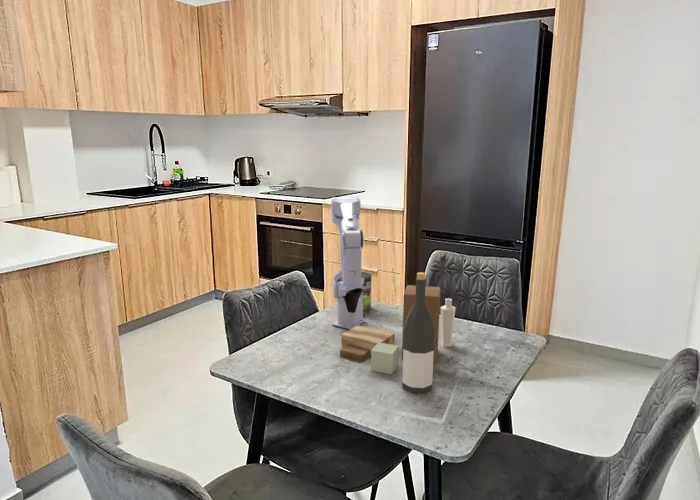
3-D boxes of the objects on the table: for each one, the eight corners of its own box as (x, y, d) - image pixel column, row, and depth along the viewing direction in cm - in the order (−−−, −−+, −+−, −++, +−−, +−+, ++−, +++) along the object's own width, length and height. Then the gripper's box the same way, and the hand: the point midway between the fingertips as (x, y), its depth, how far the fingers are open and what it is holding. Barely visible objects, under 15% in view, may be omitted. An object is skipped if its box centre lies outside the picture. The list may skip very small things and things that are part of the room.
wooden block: (436, 364, 137) (439, 296, 133) (401, 361, 139) (403, 294, 135) (437, 350, 147) (440, 286, 143) (404, 347, 149) (406, 284, 145)
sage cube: (377, 362, 139) (378, 342, 137) (398, 365, 137) (398, 345, 135) (370, 370, 133) (371, 350, 132) (391, 374, 131) (392, 353, 130)
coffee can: (376, 310, 183) (377, 274, 180) (360, 317, 175) (360, 280, 172) (354, 305, 189) (354, 269, 186) (338, 311, 181) (338, 275, 178)
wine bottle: (426, 397, 119) (431, 279, 113) (396, 389, 123) (399, 274, 117) (437, 383, 126) (442, 271, 120) (408, 376, 130) (411, 267, 124)
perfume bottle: (453, 343, 152) (455, 297, 149) (454, 348, 148) (457, 301, 145) (438, 342, 153) (440, 296, 150) (439, 347, 148) (441, 301, 145)
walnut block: (348, 344, 146) (339, 349, 142) (370, 349, 142) (361, 355, 138) (348, 350, 147) (339, 356, 142) (370, 356, 143) (361, 362, 139)
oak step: (358, 337, 156) (358, 324, 155) (394, 346, 150) (394, 332, 149) (341, 348, 148) (341, 334, 147) (378, 357, 141) (379, 343, 140)
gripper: (350, 262, 155) (349, 303, 158) (329, 273, 142) (329, 317, 145) (370, 265, 152) (369, 306, 155) (351, 276, 139) (350, 320, 142)
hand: (351, 311), depth 150 cm, fingers closed
